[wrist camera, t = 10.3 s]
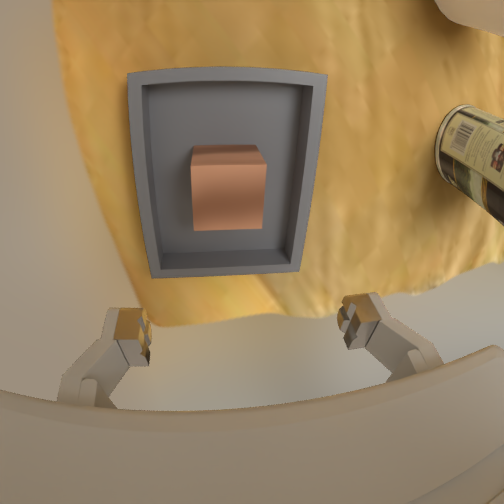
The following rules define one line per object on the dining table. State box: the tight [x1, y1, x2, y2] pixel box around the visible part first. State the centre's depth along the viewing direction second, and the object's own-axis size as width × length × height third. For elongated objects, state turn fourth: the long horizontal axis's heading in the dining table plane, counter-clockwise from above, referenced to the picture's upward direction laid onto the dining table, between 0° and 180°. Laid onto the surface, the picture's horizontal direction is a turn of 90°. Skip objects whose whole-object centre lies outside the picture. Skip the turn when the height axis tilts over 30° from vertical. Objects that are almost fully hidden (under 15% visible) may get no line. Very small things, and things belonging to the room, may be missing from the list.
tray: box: [127, 67, 328, 278], centre depth 24 cm, size 18×14×4 cm
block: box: [191, 145, 267, 231], centre depth 22 cm, size 5×5×5 cm
